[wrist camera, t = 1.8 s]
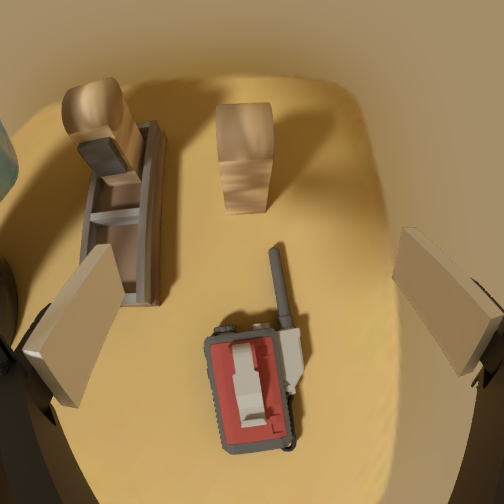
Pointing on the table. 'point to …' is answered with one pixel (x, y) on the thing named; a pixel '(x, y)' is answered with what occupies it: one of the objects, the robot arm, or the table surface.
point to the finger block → (245, 155)
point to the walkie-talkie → (256, 378)
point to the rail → (120, 184)
